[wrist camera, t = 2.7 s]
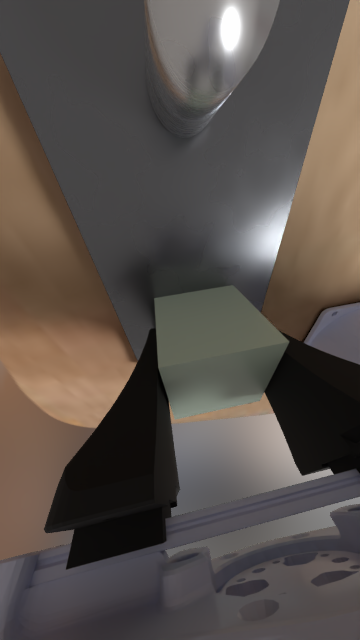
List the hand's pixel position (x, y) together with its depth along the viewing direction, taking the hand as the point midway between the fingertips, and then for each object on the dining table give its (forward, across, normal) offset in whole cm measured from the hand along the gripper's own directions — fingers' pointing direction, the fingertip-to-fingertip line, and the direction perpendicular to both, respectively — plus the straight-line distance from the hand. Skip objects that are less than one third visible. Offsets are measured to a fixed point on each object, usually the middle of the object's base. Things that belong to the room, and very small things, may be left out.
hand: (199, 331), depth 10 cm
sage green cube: (+1, 0, 0) cm, 1 cm away
